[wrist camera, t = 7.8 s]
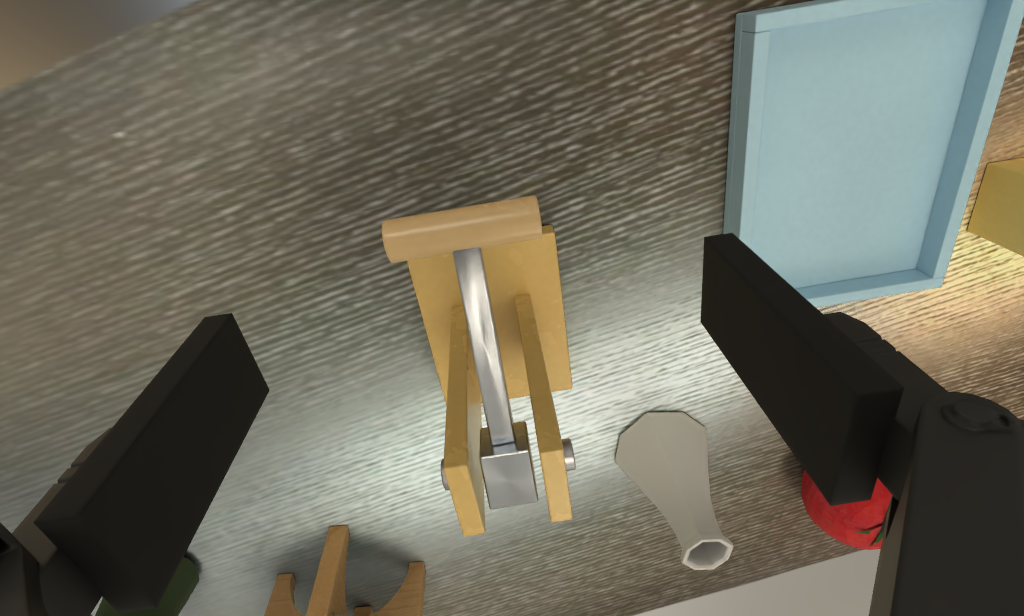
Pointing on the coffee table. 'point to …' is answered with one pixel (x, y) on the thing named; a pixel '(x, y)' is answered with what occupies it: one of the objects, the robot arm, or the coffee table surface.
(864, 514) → the tomato
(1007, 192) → the butter
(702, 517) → the flask
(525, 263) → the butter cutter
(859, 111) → the butter dish
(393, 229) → the arm
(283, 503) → the coffee table surface
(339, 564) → the planter
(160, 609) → the character mug
